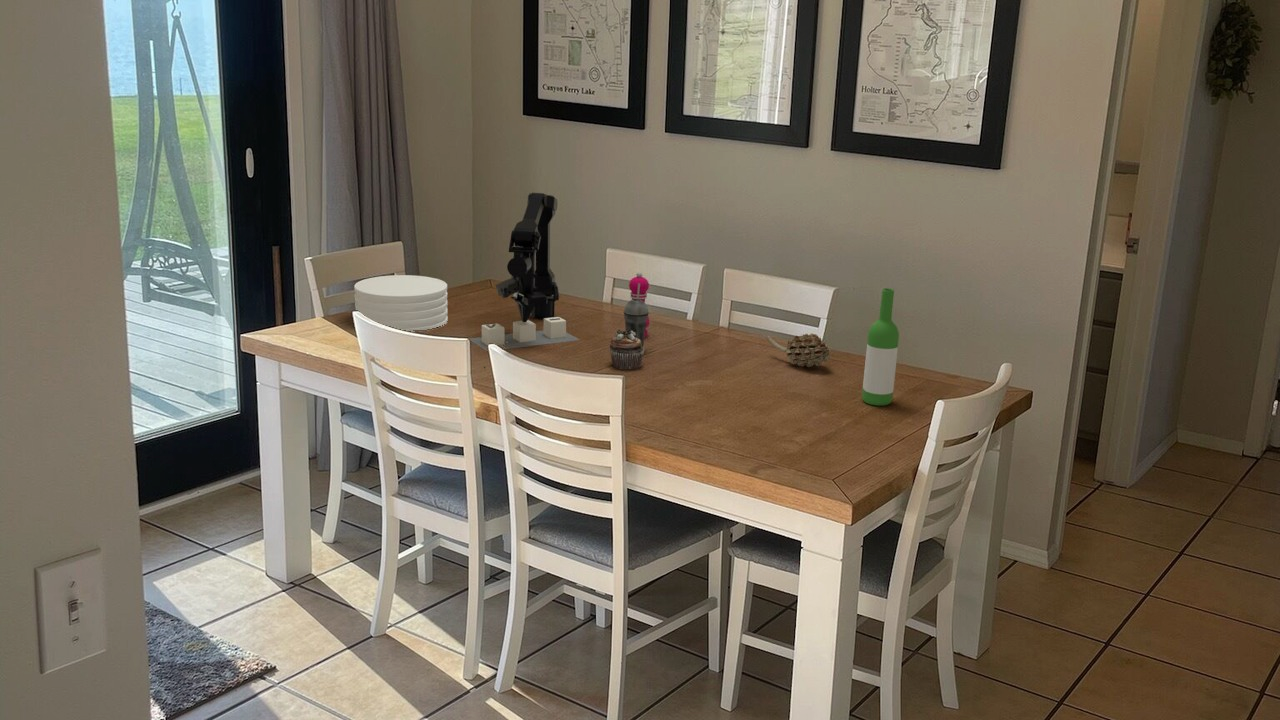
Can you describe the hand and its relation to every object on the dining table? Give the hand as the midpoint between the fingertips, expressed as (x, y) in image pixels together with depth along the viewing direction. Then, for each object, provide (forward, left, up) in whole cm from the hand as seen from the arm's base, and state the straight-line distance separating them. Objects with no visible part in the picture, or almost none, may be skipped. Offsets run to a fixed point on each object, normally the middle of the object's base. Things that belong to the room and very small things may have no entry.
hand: (524, 321), depth 340 cm
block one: (-10, 0, -5) cm, 11 cm away
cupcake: (-16, +33, -6) cm, 37 cm away
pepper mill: (-34, +8, -6) cm, 35 cm away
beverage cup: (-25, +22, -6) cm, 34 cm away
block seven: (+10, 0, -5) cm, 11 cm away
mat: (0, 0, -6) cm, 6 cm away
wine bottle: (-60, +87, -6) cm, 106 cm away
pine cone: (-61, +51, -6) cm, 80 cm away
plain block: (0, 0, -5) cm, 5 cm away
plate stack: (+25, -36, -6) cm, 44 cm away
